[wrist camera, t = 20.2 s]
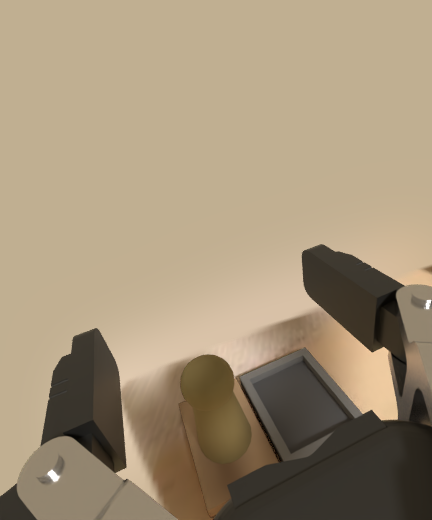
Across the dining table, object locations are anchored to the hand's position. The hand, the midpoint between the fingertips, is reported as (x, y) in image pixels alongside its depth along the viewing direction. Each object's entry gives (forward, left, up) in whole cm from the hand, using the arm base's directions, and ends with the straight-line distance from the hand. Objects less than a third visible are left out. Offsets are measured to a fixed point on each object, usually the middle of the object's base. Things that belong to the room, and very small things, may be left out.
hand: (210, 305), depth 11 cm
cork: (0, -11, -27) cm, 29 cm away
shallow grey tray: (-9, -11, -28) cm, 31 cm away
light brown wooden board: (0, -11, -28) cm, 30 cm away
